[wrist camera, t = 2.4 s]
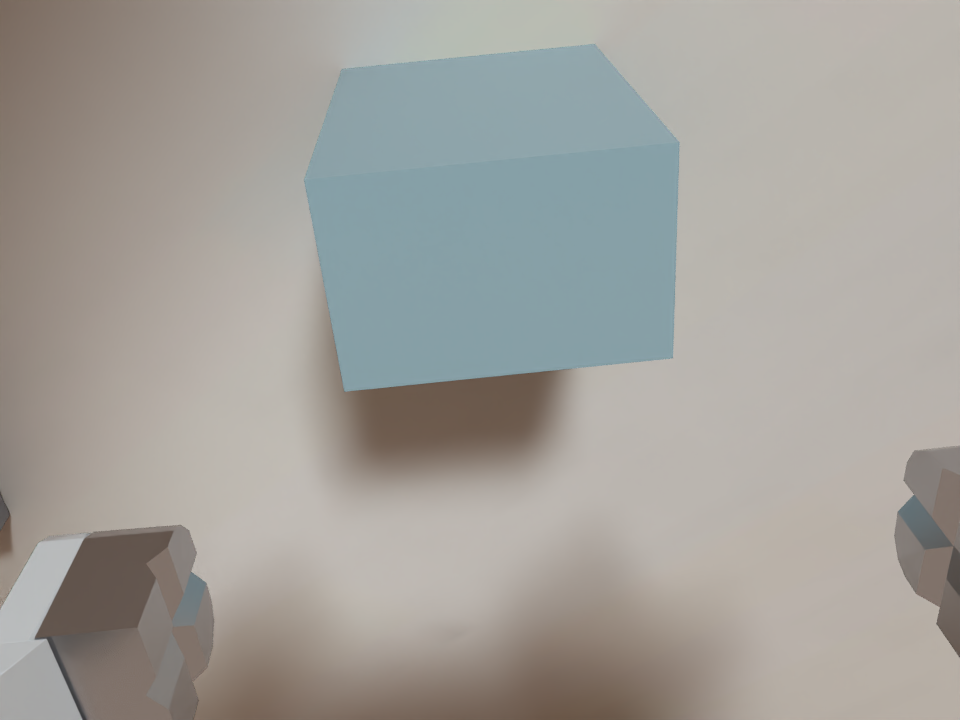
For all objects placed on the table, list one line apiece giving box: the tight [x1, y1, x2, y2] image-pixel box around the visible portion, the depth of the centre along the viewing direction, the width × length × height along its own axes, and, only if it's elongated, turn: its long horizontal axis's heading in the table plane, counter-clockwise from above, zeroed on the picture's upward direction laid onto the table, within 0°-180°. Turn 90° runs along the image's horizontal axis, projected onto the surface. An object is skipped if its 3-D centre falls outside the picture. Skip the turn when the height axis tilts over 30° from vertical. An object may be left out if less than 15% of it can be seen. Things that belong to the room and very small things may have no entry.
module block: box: [304, 44, 679, 392], centre depth 19 cm, size 4×6×8 cm, turn 95°
